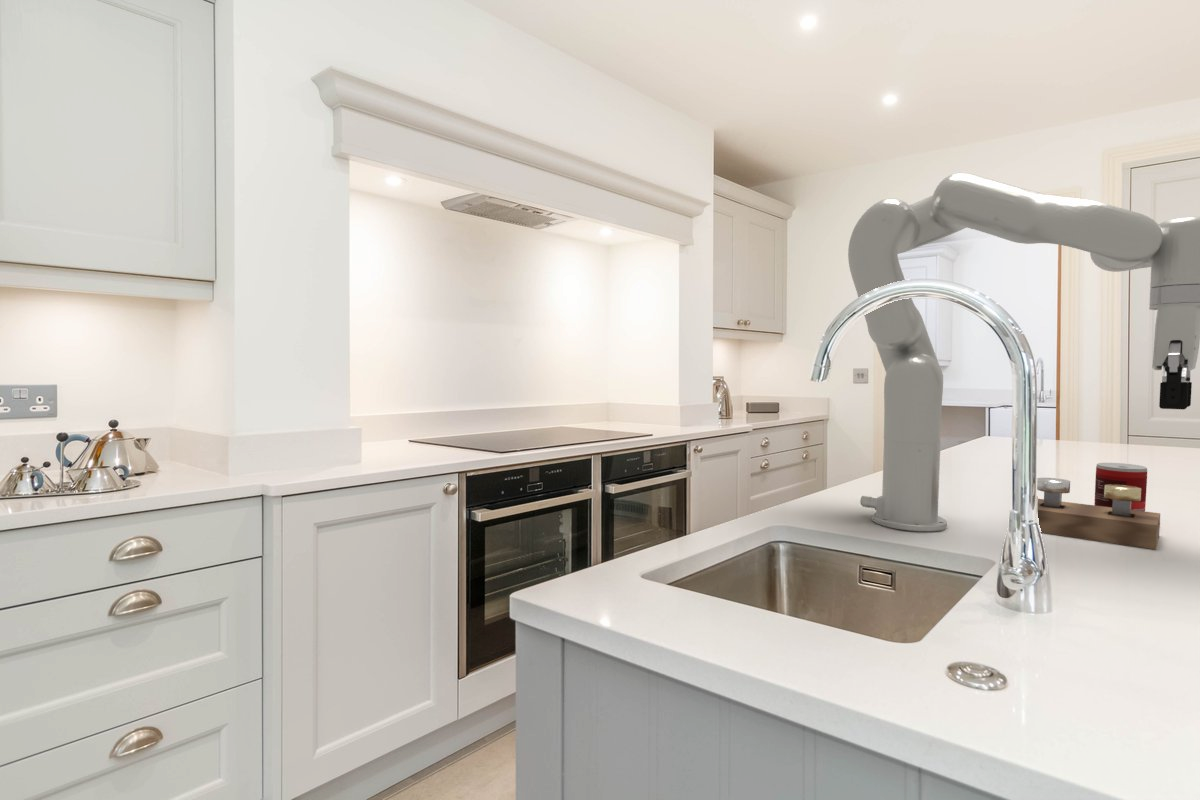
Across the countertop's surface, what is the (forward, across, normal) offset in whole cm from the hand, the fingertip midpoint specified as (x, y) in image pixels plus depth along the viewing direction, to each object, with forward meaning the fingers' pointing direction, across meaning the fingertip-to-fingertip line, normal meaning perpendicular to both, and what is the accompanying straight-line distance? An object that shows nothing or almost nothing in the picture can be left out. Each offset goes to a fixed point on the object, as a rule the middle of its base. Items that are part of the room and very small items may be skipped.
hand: (1175, 407), depth 106 cm
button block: (+23, -6, -12) cm, 27 cm away
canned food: (+23, -20, -8) cm, 32 cm away
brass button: (+20, -6, -7) cm, 22 cm away
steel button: (+20, -6, -17) cm, 27 cm away
